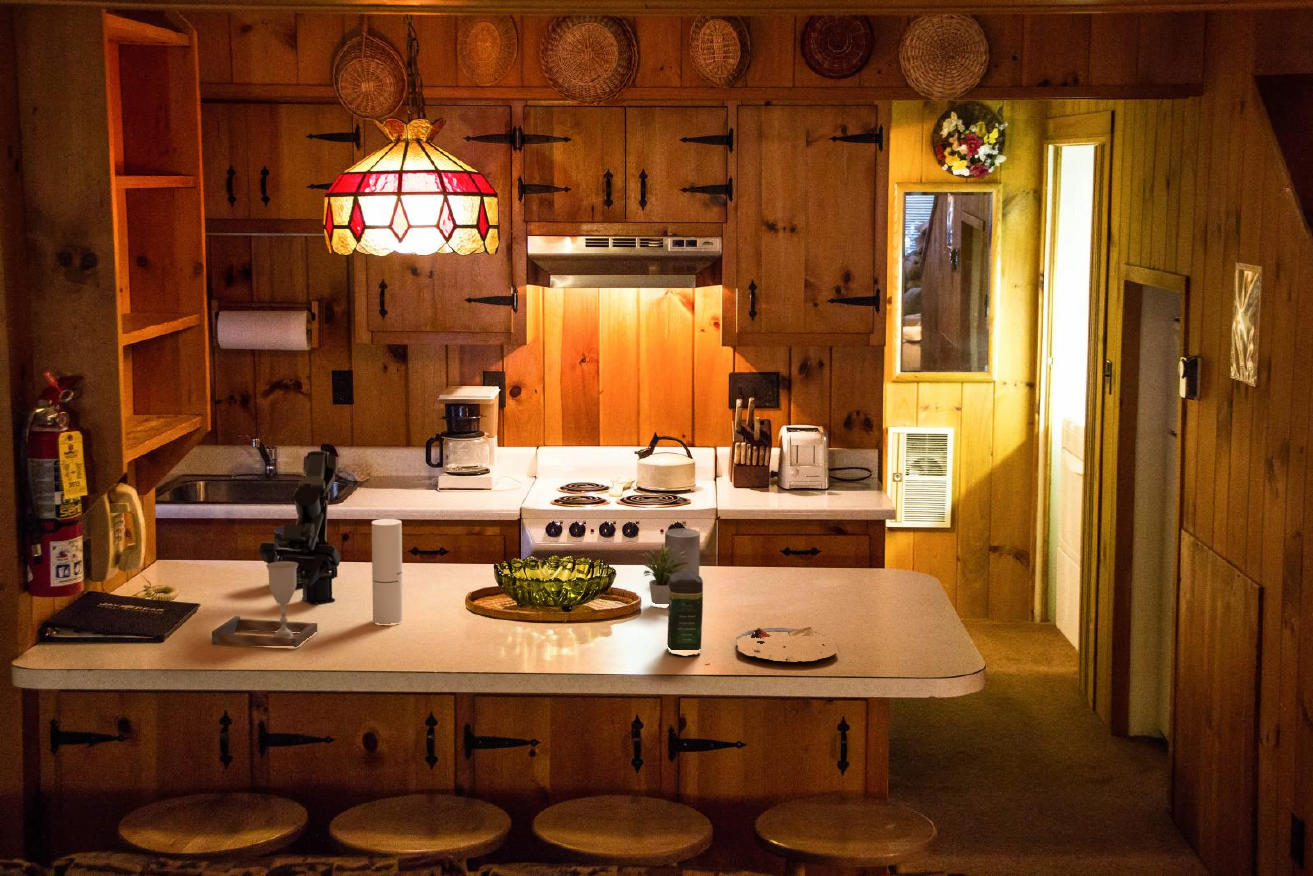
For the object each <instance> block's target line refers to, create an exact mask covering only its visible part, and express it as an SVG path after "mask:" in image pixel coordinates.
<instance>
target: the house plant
mask: <svg viewBox="0 0 1313 876" xmlns="http://www.w3.org/2000/svg"><path fill="white" fill-rule="evenodd" d="M668 549H669V547H668V546H667V547H666V548H665V547H664V543H662V544H661V548H660V561H659V558H658V557H657V555H656V553H655V552H654V551H653V550H651V549H649V552H651V553H650V554H651V555H652V557H653V558H652V557H651V556H650V554H648V553H647V552H644V553H645V554H644V553H641V554H640V555H641V556H644V557H645V559H646V560H647V561H648V562H649V563H650V564H649V563H645V564H643V565H644V566H645V567H646V568H649V570H644V572H643V575H644V577H646V576H652V577H654V579H651V580H650V581H649V582H648V583H649V590H650V598H651V603H652V602H653V603H655V604H669V579H670V577H669V576H671V575H673V574H674V572H675V571H678V570H684V571H686V570H689V569H677V570H675V568H677V567H678V566H681V565H684V564H691V563H689V562H682V563H677V564H674V565H672V564H673V563H674V562H675V561H676V560H677V559H678V558H680V557H679V556H680V555H681V554H682V553H684V552H685V551H683V552H681V553H679V554H678V555H677V556H676V557H675V558H674V559H673V560H672V562H671V563H669V564H667V562H668V560H669V558H670V556H671V554H672V553H673V551H674V550H675V549H676V547H675V548H674V549H673V550H672V551H671V552H670V553H669V551H668ZM682 557H686V556H682ZM678 560H681V559H678ZM678 560H677V561H678ZM682 560H683V559H682ZM684 560H685V559H684ZM667 565H669V566H668V567H666V566H667ZM650 570H651V571H650ZM674 570H675V571H674ZM673 571H674V572H673Z"/></svg>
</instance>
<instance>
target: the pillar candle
mask: <svg viewBox="0 0 1313 876" xmlns="http://www.w3.org/2000/svg"><path fill="white" fill-rule="evenodd" d="M700 540H701V533H700V531H699V530H696V529H691V528H684V527H682V528H670V529H667V530H666V531H665V532H664V549H665V548H666V547H667V546H668V547H669V549H668V551H669V553H670V552H671V551H672V550H673V549H674V548H675V547H676V549H675V550H674V551H673V553H672V554H671V556H670V558H669V560H668V562H667V564H669V563H671V562H672V560H673V559H674V558H675V557H676V556H677V555H678V554H679V553H681V552H683V551H685V552H684V553H682V554H681V555H680V556H679V557H680V558H678V559H681V560H678V559H677V560H678V561H677V560H676V561H675V562H674V563H673V564H672V565H674V564H677V563H682V562H689V563H691V564H684V565H681V566H678V567H677V568H675V570H677V569H689V570H686V571H693V572H694V573H696V574H697V575H699V576H700V548H701V546H700V543H701V541H700ZM682 556H686V557H682ZM682 559H683V560H682ZM684 559H685V560H684ZM668 566H669V565H667V566H666V567H668ZM675 570H674V571H675ZM674 571H673V572H674ZM678 571H684V570H678ZM676 572H677V571H675V572H674V573H676ZM669 577H670V576H669Z"/></svg>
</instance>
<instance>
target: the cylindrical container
mask: <svg viewBox="0 0 1313 876" xmlns="http://www.w3.org/2000/svg"><path fill="white" fill-rule="evenodd" d="M402 524H403V523H402V520H400V519H394V518H380V519H376V520H375V519H374V520H372V521H371V567H372V568H371V570H372V571H371V574H372V580H371V582H372V585H371V587H372V623H373V622H374V623H379V624H391V623H399V622H401V621H402V620H404V619H403V541H402V540H403V534H402V533H403V531H402V528H403V525H402ZM374 623H373V624H374Z"/></svg>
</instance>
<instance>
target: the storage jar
mask: <svg viewBox="0 0 1313 876" xmlns="http://www.w3.org/2000/svg"><path fill="white" fill-rule="evenodd" d="M283 528H284V526H283V527H278V528H275V529H274V530H273V535H274V536H273V542H277V543H278V545H279V547H280V548H289V545H286V543H285V542H286V539H283V538H282V534H283ZM282 561H289V562H296V563H298V566H297V568H296V588H295V591H296V590H303V583H304V579H301V578H300V558H299V557H284V556H282V560H281V561H280V562H282Z"/></svg>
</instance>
